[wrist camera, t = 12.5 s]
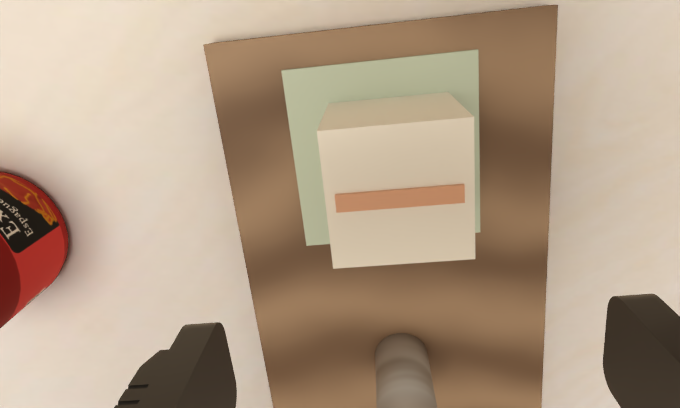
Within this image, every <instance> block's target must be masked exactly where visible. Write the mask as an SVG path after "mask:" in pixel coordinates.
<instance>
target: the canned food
mask: <svg viewBox="0 0 680 408" xmlns="http://www.w3.org/2000/svg"><path fill="white" fill-rule="evenodd" d="M67 251H68V233H67V229H66V225H65V222H64V220H63V218H62V216H61V213H60V211H59V210H58V208H57V207H56V206H55V204H54V203H53V201H52V200H51V199H50V198H49V197H48V196H47V195H46V194H45V193H44V192H43V191H42V190H40V189H39V188H38V187H36V186H35V185H34V184H32V183H31V182H29V181H27V180H25V179H23V178H21V177H18V176H15V175H12V174H9V173H3V172H0V328H1V327H2V326H3V325H5V324H6V323H7V322H8V321H9V320H10V319H11V318H13V317H14V316H15V315H16V314H17V313H18V312H19V311H21V310H22V309H23V308H24V307H25V306H26V305H27V304H29V303H30V302H31V301H32V300H33V299H34V298H35V297H37V296H38V295H39V294H40V293H41V292H42V291H43V290H45V289H46V288H47V287H48V286H49V285H50V284H51V283H52V282H53V281H54V280H55V278H56V277H57V276H58V274H59V272H60V270H61V268H62V266H63V263H64V261H65V259H66V256H67Z"/></svg>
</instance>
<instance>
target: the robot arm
mask: <svg viewBox="0 0 680 408" xmlns="http://www.w3.org/2000/svg"><path fill="white" fill-rule="evenodd" d="M603 368H604V374H605V378H606V382H607V385H608V387H609V389H610V391H611V393H612V395H613V396H614V398H615V399H616V401H617V402H618V404H619V405H620V407H621V408H680V317H679V316H678V315H677V314H676V313H675V312H674V311H673V310H672V309H671V308H670V307H669V306H668V305H667V304H666V303H665V302H664V301H662V300H661V299H660V298H659V297H658V296H657V295H655V294H642V295H627V296H614V297H612V298H611V299H610V301H609V303H608V308H607V320H606V332H605V343H604V355H603ZM236 397H237V390H236V381H235V376H234V371H233V366H232V362H231V357H230V353H229V348H228V343H227V339H226V334H225V330H224V327H223V325H222V324H221V323H204V324H190V325H184V326H183V327H182V329H181V331H180V332H179V334H178V336H177V337H176V339H175V341H174V343H173V344H172V346H171V348H170V349H169V350H160V351H159V352H157V353H156V354H155V355H154V356H153V357H151V358H150V359H149V360H148V361H147V362H145V363H144V364H143V365H142V366H141V367H140V368H139V370H138V371H137V373H136V374H135V376H134V377H133V379H132V381H131V382H130V384H129V385H128V389H126V390H125V392H124V393H123V395H122V396H121V398H120V399H119V401H118V405H116V406H115V407H114V408H235V407H236Z"/></svg>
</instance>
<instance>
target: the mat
mask: <svg viewBox="0 0 680 408" xmlns="http://www.w3.org/2000/svg"><path fill="white" fill-rule="evenodd" d="M281 72H282V79H283V86H284V93H285V100H286V107H287V114H288V121H289V128H290V135H291V142H292V149H293V156H294V163H295V169H296V176H297V183H298V190H299V197H300V204H301V211H302V218H303V225H304V232H305V239H306V246H310V245H323V244H330V238H329V230H328V221H327V213H326V205H325V196H324V188H323V180H322V171H321V163H320V154H319V146H318V138H317V129H318V127H319V124H320V122H321V120H322V117H323V115H324V112H325V110H326V108H327V105H328V103H336V102H347V101H358V100H368V99H379V98H389V97H400V96H410V95H421V94H431V93H442V92H449V93H450V94H451V95H452V96H453V97H454V98H455V99H456V100H457V101H458V102H459V103H460V104H461V105H462V106H463V107H464V108H465V109H466V110H467V111H469V112H470V113H471V114H472V115H473V116H474V155H475V233H479V232H480V151H479V58H478V49H474V50H465V51H455V52H446V53H436V54H427V55H418V56H408V57H399V58H390V59H380V60H371V61H362V62H352V63H343V64H333V65H324V66H315V67H305V68H296V69H287V70H281Z"/></svg>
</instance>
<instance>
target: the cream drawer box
mask: <svg viewBox="0 0 680 408" xmlns="http://www.w3.org/2000/svg"><path fill="white" fill-rule="evenodd" d="M317 138H318V146H319V154H320V163H321V171H322V180H323V188H324V196H325V205H326V213H327V221H328V230H329V238H330V247H331V255H332V263H333V269H337V268H352V267H366V266H381V265H396V264H410V263H425V262H440V261H455V260H469V259H475V155H474V116H473V115H472V114H471V113H470V112H469V111H467V110H466V109H465V108H464V107H463V106H462V105H461V104H460V103H459V102H458V101H457V100H456V99H455V98H454V97H453V96H452V95H451V94H450V93H449V92H442V93H431V94H421V95H410V96H400V97H389V98H379V99H368V100H358V101H347V102H336V103H328V105H327V108H326V110H325V112H324V115H323V117H322V120H321V122H320V124H319V127H318V129H317Z"/></svg>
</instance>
